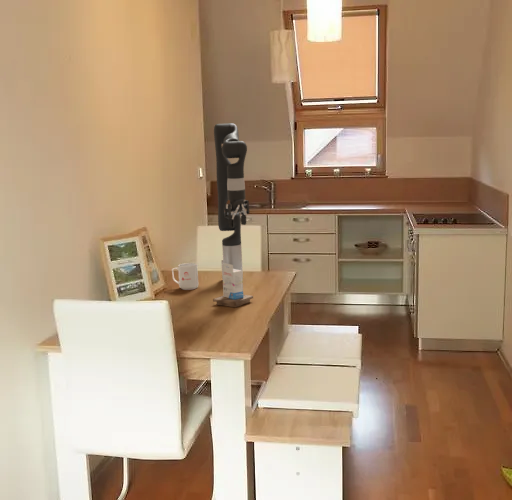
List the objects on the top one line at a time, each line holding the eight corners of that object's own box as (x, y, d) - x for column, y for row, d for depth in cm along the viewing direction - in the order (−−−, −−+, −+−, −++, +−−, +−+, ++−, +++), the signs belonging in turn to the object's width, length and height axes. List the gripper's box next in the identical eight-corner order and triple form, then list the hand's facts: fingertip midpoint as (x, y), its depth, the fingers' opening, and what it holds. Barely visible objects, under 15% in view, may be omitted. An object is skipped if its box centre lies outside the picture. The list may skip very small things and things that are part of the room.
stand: (213, 304, 283) (213, 299, 283) (230, 298, 293) (230, 293, 292) (236, 308, 276) (235, 302, 276) (253, 301, 286) (253, 295, 285)
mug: (199, 285, 321) (198, 262, 319) (197, 290, 312) (195, 266, 310) (174, 286, 321) (173, 263, 320) (171, 290, 313) (169, 267, 311)
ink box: (244, 298, 282) (242, 263, 280) (234, 300, 279) (232, 265, 277) (232, 294, 289) (231, 260, 286) (222, 296, 286) (221, 262, 284)
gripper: (232, 191, 280) (234, 229, 284) (253, 187, 292) (254, 224, 295) (218, 190, 285) (220, 228, 288) (239, 186, 296) (240, 222, 299)
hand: (237, 226), depth 292 cm, fingers open, 8 cm apart
